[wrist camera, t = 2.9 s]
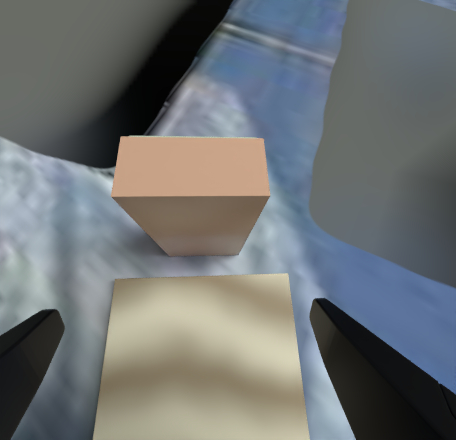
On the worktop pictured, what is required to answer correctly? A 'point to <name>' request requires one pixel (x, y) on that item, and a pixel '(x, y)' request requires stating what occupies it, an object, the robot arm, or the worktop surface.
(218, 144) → the peach block
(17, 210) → the worktop surface
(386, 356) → the robot arm
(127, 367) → the board
